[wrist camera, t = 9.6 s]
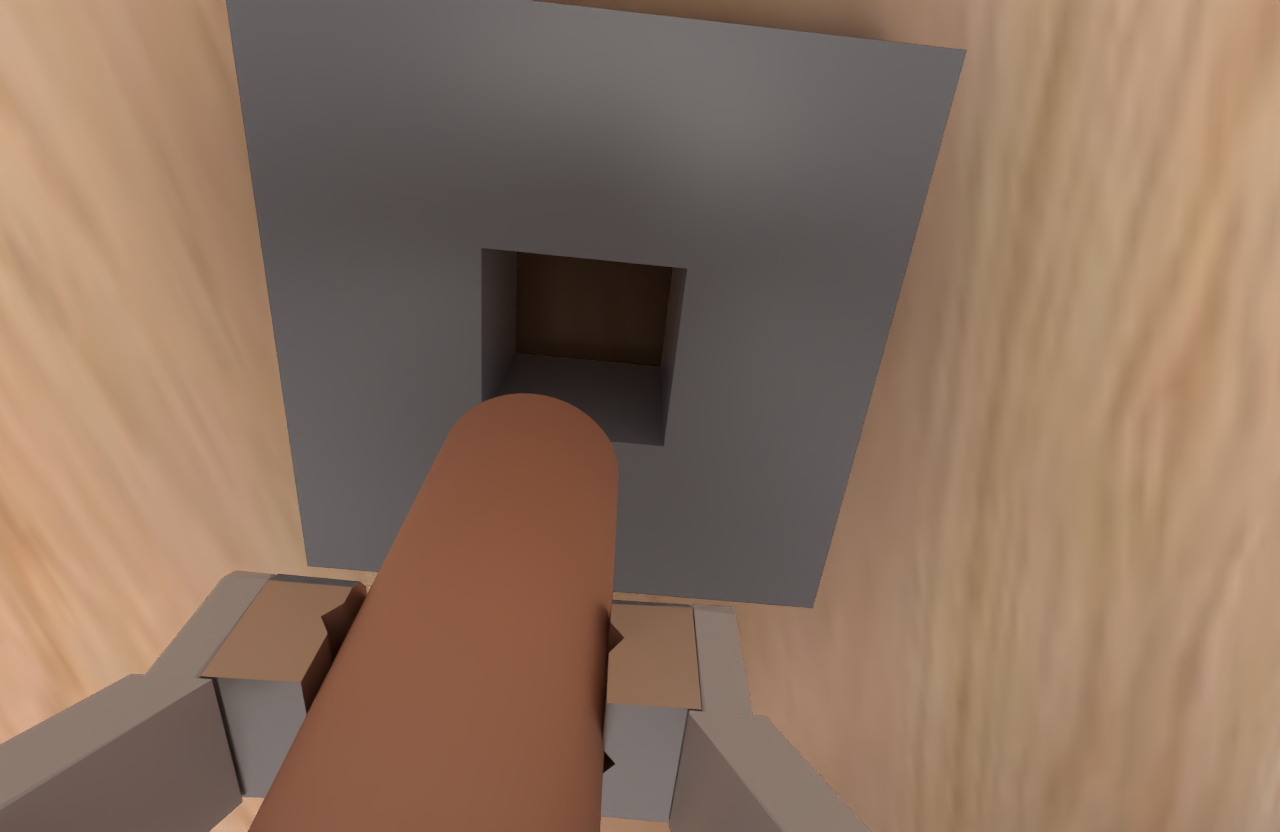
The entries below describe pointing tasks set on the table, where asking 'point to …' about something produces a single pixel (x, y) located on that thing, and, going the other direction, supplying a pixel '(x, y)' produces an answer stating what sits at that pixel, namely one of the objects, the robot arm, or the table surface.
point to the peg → (474, 645)
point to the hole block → (593, 229)
